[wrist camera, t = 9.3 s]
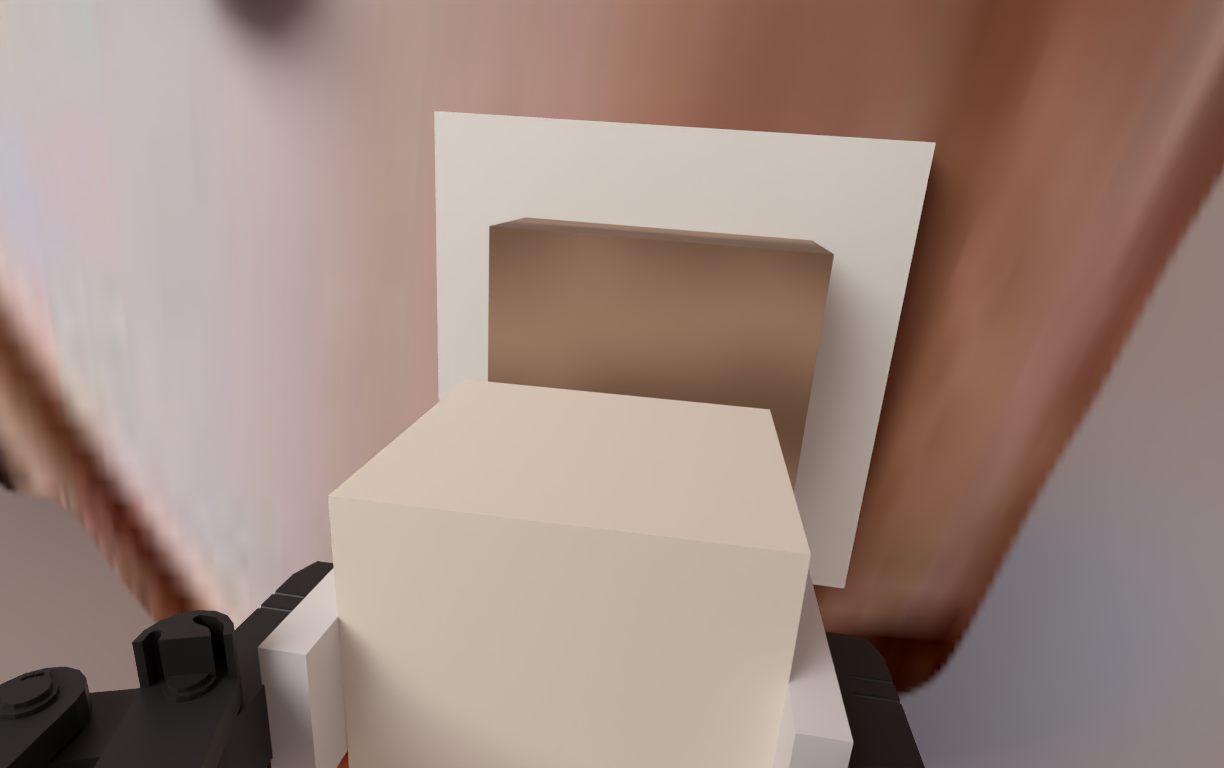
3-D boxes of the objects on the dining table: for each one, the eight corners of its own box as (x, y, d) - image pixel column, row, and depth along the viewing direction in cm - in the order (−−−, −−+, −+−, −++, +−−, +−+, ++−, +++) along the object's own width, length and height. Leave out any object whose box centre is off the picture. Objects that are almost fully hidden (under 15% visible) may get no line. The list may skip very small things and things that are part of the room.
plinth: (451, 115, 30) (434, 111, 28) (919, 144, 27) (935, 142, 25) (454, 514, 36) (440, 533, 34) (836, 565, 34) (844, 588, 32)
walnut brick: (525, 217, 28) (489, 226, 24) (812, 240, 27) (833, 254, 22) (519, 471, 32) (486, 523, 27) (770, 502, 31) (782, 562, 26)
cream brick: (466, 379, 16) (327, 496, 10) (769, 409, 15) (810, 554, 9) (467, 630, 18) (355, 846, 12) (733, 667, 17) (748, 916, 11)
